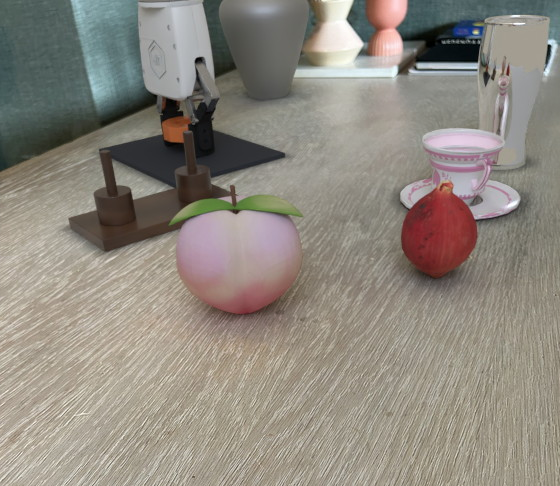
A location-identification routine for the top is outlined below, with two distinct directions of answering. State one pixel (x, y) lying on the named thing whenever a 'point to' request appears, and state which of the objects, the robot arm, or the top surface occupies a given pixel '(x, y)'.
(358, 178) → the top surface
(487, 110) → the beer glass
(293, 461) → the top surface
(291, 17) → the vase
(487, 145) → the teacup
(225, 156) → the mat
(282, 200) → the decorative fruit
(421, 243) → the pomegranate
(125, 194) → the rack
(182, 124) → the disc
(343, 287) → the top surface
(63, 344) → the top surface
